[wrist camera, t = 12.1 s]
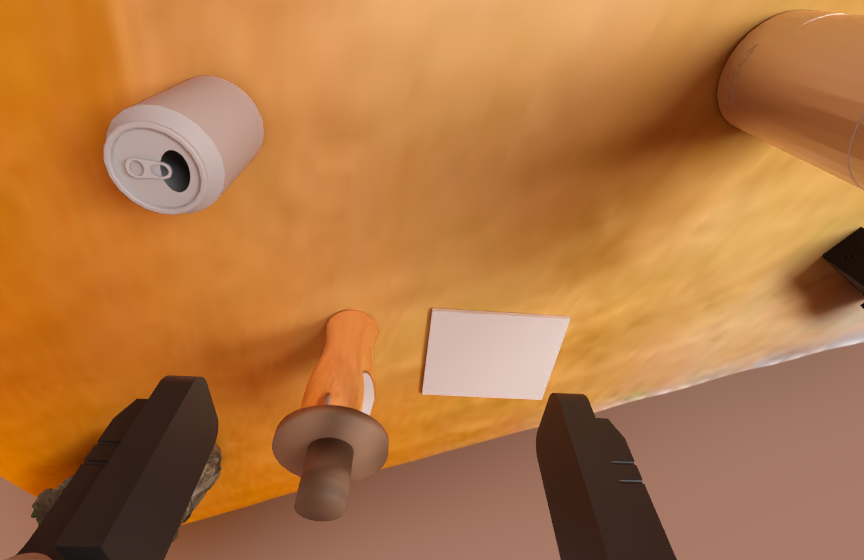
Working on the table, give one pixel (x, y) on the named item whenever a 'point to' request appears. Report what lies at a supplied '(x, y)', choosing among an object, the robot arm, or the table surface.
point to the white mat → (491, 353)
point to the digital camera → (856, 270)
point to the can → (183, 145)
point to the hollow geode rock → (204, 484)
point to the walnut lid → (329, 455)
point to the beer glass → (345, 364)
